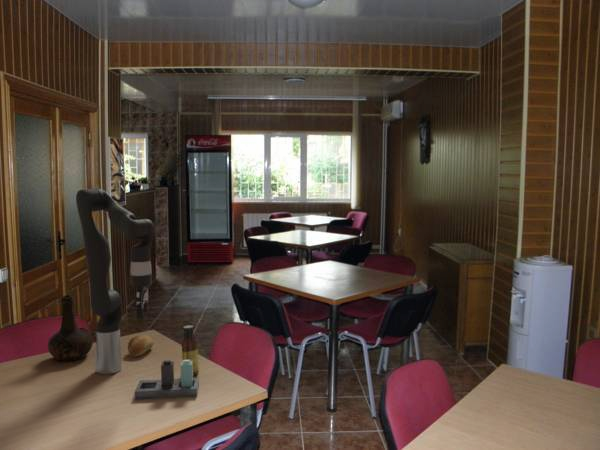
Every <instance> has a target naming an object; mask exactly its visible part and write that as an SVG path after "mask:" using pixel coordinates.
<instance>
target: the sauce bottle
mask: <svg viewBox="0 0 600 450" xmlns="http://www.w3.org/2000/svg"><path fill="white" fill-rule="evenodd" d="M182 330H183V340H182V342H181V356H182V357H181V358H182V361H183V360H190V361H193V377H195V376H197V375H198V374H199V369H200V366H199V350H198V343H197V341H196V339H195V335H194V326H193V325H192V324H191V325H190V324H189V325H184V326H183V328H182Z"/></svg>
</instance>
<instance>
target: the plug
mask: <svg viewBox="0 0 600 450" xmlns="http://www.w3.org/2000/svg"><path fill="white" fill-rule="evenodd" d="M193 378H194V376H193V361H190V360H182V361H181V362H180V379H181V387H188V386H193Z"/></svg>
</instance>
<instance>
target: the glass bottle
mask: <svg viewBox="0 0 600 450" xmlns="http://www.w3.org/2000/svg"><path fill="white" fill-rule="evenodd" d="M73 297H74V296H73V295H71V294H66V295H63V296H61V299H60V301H59V303H61V323H60V329H59V331H57V332H55V333H54V334H53V335H52V336H50V338H49V339H48V343H47V349H48V352H49V353H50V355H51V356H52V357H53V358H54V359H56V360H58V361H61V362H69V361H70V362H71V361H77V360H80V359H82V358H84V357H86V355H88V353H89V352H90V351H91V349H92V348H93V345H94V343H93V342H94V341H93V340H94V339H93V337H92V335H91V333H90V332H89V330H87V329H86V328H83V327H79V326H78V323H77V321H76V316H75V309H74V308H75V307H74V301H75V298H73Z"/></svg>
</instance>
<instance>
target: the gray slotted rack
mask: <svg viewBox="0 0 600 450" xmlns="http://www.w3.org/2000/svg"><path fill="white" fill-rule="evenodd" d="M174 364H175V361H172V360H169V359H168V360H163V361H162V362H161V365H160V379H148V380H146V379H145V380H144V379H143V380H139V382H138V384H137V386H136V388H135V390H134V400H136V401H137V400H139V401H140V400H157V399H172V398H173V399H175V398H193V397H194V398H196V397H198V393H199V388H200V378H199V377H193V386H188V387H181V378H175V373H174V371H175V369H174V368H175V366H174Z"/></svg>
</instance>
